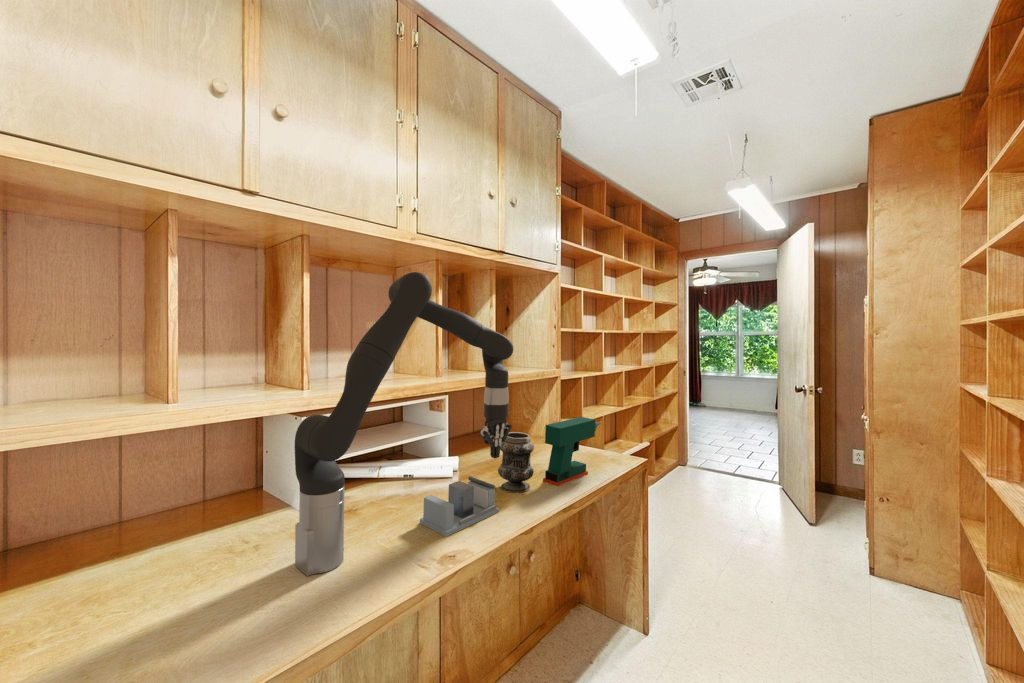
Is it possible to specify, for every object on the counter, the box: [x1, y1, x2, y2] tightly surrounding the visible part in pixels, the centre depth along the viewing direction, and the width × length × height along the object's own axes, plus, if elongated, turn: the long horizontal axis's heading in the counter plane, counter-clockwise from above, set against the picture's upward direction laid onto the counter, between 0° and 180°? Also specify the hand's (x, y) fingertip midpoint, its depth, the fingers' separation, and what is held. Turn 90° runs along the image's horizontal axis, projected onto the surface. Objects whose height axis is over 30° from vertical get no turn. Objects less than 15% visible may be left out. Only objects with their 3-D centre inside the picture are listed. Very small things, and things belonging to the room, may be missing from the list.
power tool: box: [542, 416, 602, 487], centre depth 159 cm, size 32×7×20 cm, turn 136°
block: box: [447, 480, 474, 519], centre depth 120 cm, size 4×6×8 cm, turn 51°
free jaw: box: [467, 475, 496, 509], centre depth 127 cm, size 3×10×7 cm, turn 50°
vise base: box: [419, 494, 500, 537], centre depth 120 cm, size 20×11×7 cm, turn 140°
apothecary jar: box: [497, 431, 535, 494], centre depth 144 cm, size 12×12×18 cm
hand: (495, 457), depth 131 cm, fingers closed
